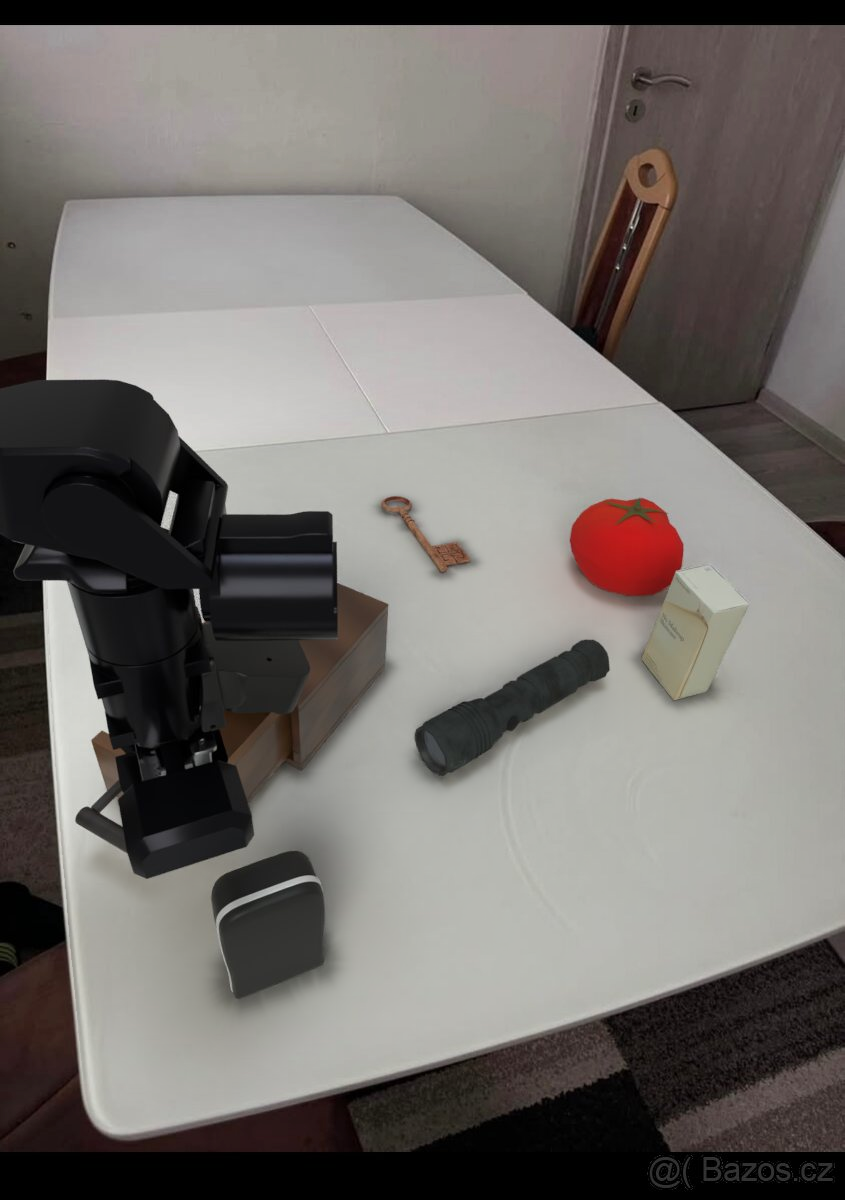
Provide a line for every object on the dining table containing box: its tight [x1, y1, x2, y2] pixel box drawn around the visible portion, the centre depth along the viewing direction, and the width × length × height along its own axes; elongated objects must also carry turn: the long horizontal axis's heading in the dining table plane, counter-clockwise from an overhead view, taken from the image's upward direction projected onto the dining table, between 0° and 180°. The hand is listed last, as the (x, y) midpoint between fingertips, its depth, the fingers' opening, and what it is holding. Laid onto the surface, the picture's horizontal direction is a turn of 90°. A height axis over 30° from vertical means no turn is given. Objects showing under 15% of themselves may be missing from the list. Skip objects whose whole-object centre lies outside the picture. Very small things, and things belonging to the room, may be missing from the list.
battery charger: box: [210, 850, 326, 999], centre depth 55 cm, size 7×4×11 cm, turn 115°
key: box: [380, 495, 472, 573], centre depth 98 cm, size 6×1×15 cm
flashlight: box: [414, 639, 611, 777], centre depth 75 cm, size 5×21×5 cm, turn 128°
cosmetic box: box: [641, 562, 751, 701], centre depth 79 cm, size 6×4×12 cm
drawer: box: [74, 710, 293, 854], centre depth 66 cm, size 18×11×7 cm, turn 152°
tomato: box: [569, 497, 685, 597], centre depth 91 cm, size 11×13×10 cm
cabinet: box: [202, 582, 389, 771], centre depth 75 cm, size 15×13×9 cm
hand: (181, 801), depth 53 cm, fingers closed
